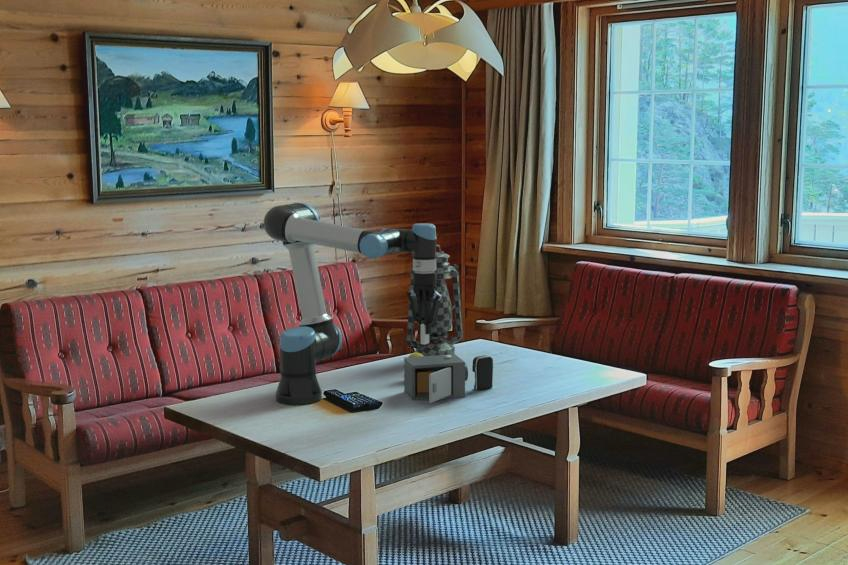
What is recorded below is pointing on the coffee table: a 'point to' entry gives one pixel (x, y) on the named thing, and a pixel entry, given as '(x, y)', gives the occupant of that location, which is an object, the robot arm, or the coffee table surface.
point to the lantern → (440, 312)
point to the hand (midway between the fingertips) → (425, 343)
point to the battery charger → (483, 372)
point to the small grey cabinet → (425, 365)
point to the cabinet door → (439, 384)
